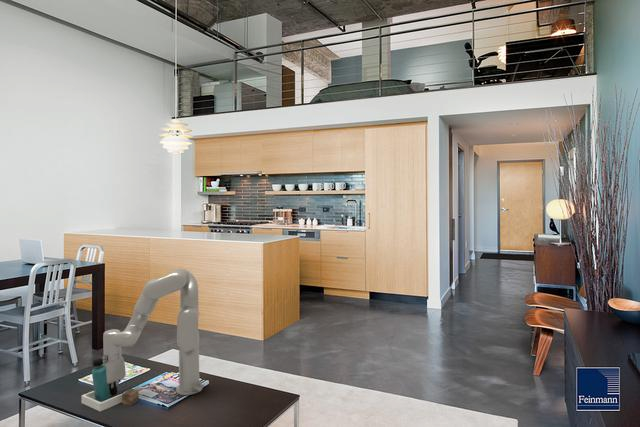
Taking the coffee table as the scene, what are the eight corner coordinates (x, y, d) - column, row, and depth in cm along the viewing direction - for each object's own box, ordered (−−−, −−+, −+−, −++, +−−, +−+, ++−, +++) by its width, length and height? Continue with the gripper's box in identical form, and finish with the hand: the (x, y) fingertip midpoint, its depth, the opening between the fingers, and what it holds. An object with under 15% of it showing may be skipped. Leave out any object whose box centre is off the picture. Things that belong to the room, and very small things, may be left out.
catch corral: (131, 398, 198) (131, 390, 197) (100, 411, 185) (100, 403, 185) (112, 390, 206) (112, 383, 205) (81, 403, 193) (81, 395, 193)
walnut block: (139, 400, 196) (138, 389, 195) (132, 405, 191) (131, 394, 190) (129, 399, 197) (129, 388, 196) (122, 404, 192) (122, 393, 192)
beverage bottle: (113, 400, 194) (107, 359, 191) (97, 406, 190) (91, 365, 187) (109, 395, 199) (103, 355, 196) (93, 401, 195) (88, 360, 192)
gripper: (101, 363, 189) (102, 403, 190) (131, 353, 202) (132, 390, 202) (92, 360, 193) (93, 399, 194) (122, 350, 206) (123, 387, 206)
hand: (113, 394), depth 198 cm, fingers closed
